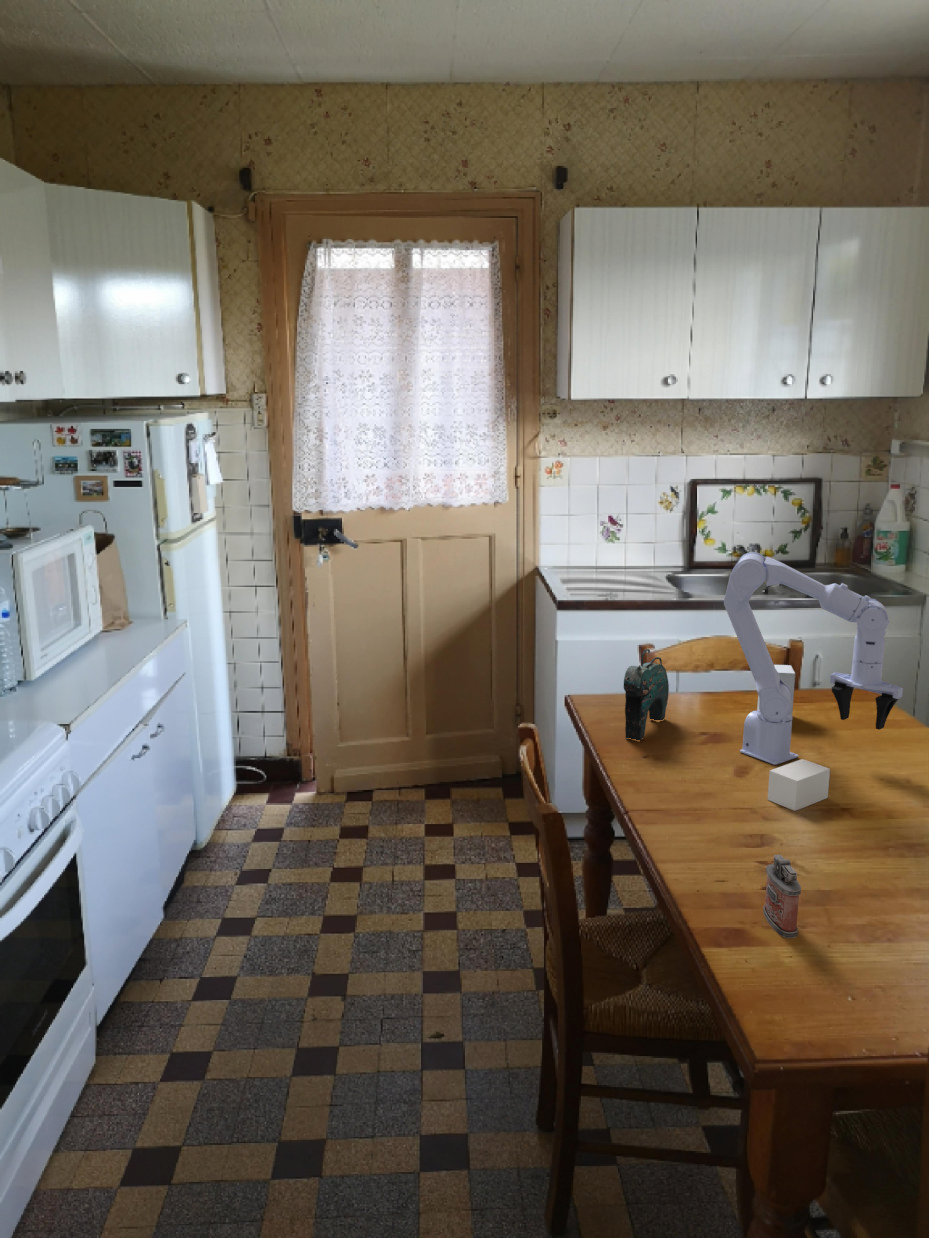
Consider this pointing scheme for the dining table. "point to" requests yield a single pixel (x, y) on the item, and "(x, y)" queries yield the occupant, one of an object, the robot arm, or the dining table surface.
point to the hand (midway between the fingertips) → (861, 723)
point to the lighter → (782, 897)
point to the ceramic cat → (644, 696)
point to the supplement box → (785, 680)
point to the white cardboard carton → (798, 784)
